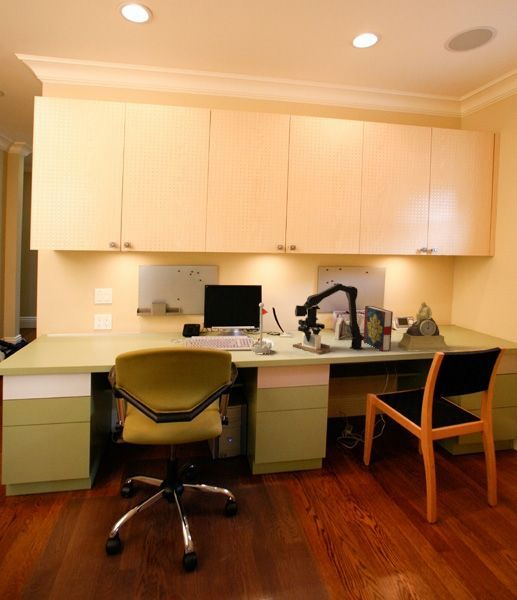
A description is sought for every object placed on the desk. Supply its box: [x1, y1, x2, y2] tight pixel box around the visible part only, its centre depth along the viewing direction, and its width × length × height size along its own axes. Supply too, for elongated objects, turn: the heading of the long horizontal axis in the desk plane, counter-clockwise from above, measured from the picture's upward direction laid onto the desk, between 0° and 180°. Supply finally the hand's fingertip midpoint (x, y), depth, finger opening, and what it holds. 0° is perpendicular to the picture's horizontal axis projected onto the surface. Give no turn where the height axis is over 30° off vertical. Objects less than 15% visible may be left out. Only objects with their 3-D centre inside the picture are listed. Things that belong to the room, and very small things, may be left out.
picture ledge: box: [292, 342, 331, 355], centre depth 244 cm, size 10×22×4 cm, turn 40°
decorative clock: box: [397, 301, 451, 352], centre depth 250 cm, size 28×13×30 cm, turn 96°
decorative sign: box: [334, 317, 351, 341], centre depth 279 cm, size 23×3×15 cm, turn 141°
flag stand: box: [249, 302, 273, 354], centre depth 234 cm, size 13×13×30 cm
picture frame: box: [301, 332, 322, 349], centre depth 244 cm, size 4×12×8 cm, turn 40°
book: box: [362, 305, 394, 352], centre depth 253 cm, size 25×7×25 cm, turn 14°
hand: (311, 341), depth 244 cm, fingers open, 5 cm apart
